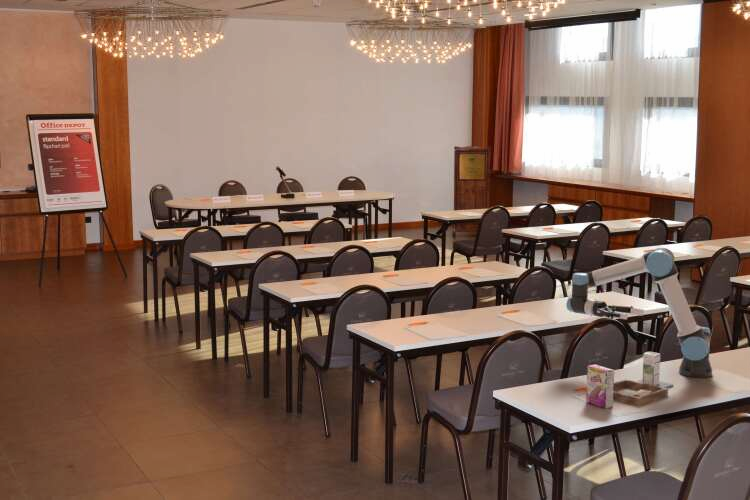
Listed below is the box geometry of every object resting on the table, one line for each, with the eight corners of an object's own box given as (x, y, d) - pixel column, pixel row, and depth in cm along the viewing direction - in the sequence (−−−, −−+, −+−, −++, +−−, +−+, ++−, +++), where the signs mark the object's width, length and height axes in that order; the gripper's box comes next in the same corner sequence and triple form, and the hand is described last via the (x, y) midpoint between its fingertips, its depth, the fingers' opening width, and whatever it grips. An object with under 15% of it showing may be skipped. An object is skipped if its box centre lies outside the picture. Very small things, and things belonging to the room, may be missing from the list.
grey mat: (629, 385, 419) (629, 383, 419) (646, 380, 428) (646, 378, 428) (656, 392, 409) (656, 389, 408) (673, 386, 418) (673, 384, 418)
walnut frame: (595, 395, 402) (596, 388, 402) (625, 386, 418) (625, 378, 417) (638, 406, 387) (639, 398, 386) (667, 396, 402) (668, 388, 401)
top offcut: (632, 397, 395) (632, 394, 395) (640, 392, 403) (640, 389, 403) (644, 398, 392) (644, 396, 392) (651, 393, 401) (651, 391, 400)
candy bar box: (585, 402, 392) (586, 365, 390) (593, 400, 395) (595, 363, 393) (605, 409, 383) (606, 371, 381) (613, 407, 385) (614, 369, 383)
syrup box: (659, 383, 418) (660, 353, 416) (653, 386, 414) (654, 355, 412) (648, 381, 422) (649, 350, 420) (641, 383, 418) (643, 353, 416)
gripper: (611, 312, 446) (649, 318, 430) (580, 319, 430) (619, 326, 414) (611, 297, 445) (650, 303, 429) (581, 303, 429) (620, 310, 413)
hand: (635, 314), depth 422 cm, fingers open, 13 cm apart
